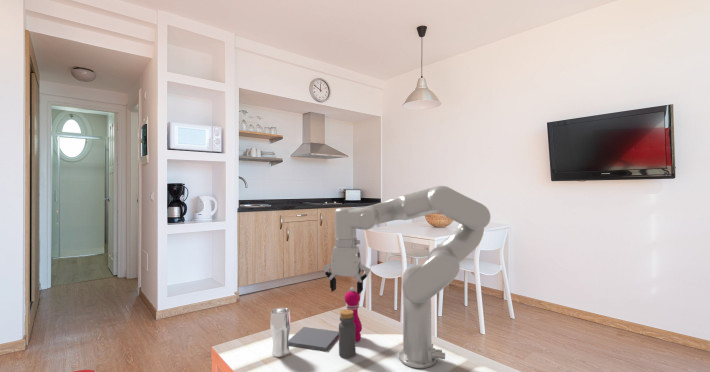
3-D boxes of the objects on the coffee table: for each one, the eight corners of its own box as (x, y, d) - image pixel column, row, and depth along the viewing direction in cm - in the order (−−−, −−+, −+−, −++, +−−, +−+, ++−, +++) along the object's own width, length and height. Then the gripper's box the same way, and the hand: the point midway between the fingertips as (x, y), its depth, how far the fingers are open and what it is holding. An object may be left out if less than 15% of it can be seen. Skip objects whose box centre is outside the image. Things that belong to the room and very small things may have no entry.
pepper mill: (360, 343, 127) (359, 290, 127) (341, 342, 129) (340, 289, 129) (363, 335, 134) (363, 285, 134) (345, 334, 136) (345, 284, 136)
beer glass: (294, 351, 122) (294, 309, 122) (280, 359, 116) (280, 316, 116) (280, 346, 126) (280, 306, 126) (266, 354, 120) (266, 312, 120)
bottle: (359, 353, 120) (358, 311, 120) (347, 360, 115) (346, 316, 115) (347, 348, 124) (346, 307, 124) (335, 354, 119) (335, 312, 119)
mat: (340, 334, 135) (340, 331, 135) (326, 351, 122) (326, 347, 122) (303, 329, 140) (303, 326, 140) (286, 344, 127) (286, 341, 127)
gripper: (372, 242, 120) (372, 290, 120) (327, 240, 126) (327, 286, 126) (366, 245, 113) (367, 297, 113) (318, 243, 119) (319, 292, 119)
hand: (346, 291), depth 120 cm, fingers open, 9 cm apart
